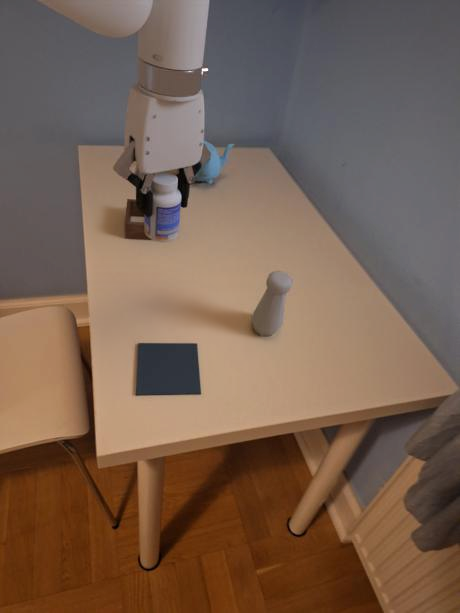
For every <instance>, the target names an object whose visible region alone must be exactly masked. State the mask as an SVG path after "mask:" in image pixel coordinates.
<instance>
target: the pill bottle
mask: <svg viewBox="0 0 460 613" xmlns="http://www.w3.org/2000/svg"><path fill="white" fill-rule="evenodd" d="M176 175H177V174H175V173H173V172H172V171H163V172H158V173H155V175H154V178H153V181H152V184H151V187H150V191H151V192H152V193H153V208H152V215H151V217H147V216H146V215H145V214H144V217H143V218H144V219H143V223H144V231H145V234H146V235H147V236H148V237H149V238H150V239H152V240H151V241H155V242H157V243H168V242H171V241H174V240H175V239H176V238H178V236H179V233H180V221H181V209H182V207H181V193H180V191H179V190H178V189H177V186H178V178H177V176H176Z"/></svg>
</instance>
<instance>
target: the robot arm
mask: <svg viewBox="0 0 460 613" xmlns="http://www.w3.org/2000/svg"><path fill="white" fill-rule="evenodd" d="M36 1H37V2H38V3H40V4H42V5H44V6H45V7H48V8H50V9H51V10H53V11H55V12H57V13H58V14H60V15H62V16H63V17H65V18H67V19H69V20H70V21H73V22H74V23H76V24H78V25H80V26H81V27H82V28H85V29H87V30H89V31H91V32H92V33H95V34H97V35H100V36H103V37H107V38H110V39H111V38H113V39H121V38H126V37H129V36H131V35H133V34H135V33H137V83H134V84H131V85H130V90H129V94H128V99H127V104H126V111H125V120H124V121H125V122H124V136H123V137H124V138H123V151H122V153H121V155H120V157H118V159H117V160H116V161H115V163H114V165H113V166H112V170H113V171H114V172H115V173H116V174H117V175H118V176H120V177H121V178H122V179H124V180H125V181H127V182H128V183H130V184H131V185H132V186H134V187H135V200H136V206H137V208H138V209H139V210H141V211H142V212H143V213H144V214H145V215H146V216H147V217H151V215H152V208H153V193H152V192H151V191H150V187H151V184H152V181H153V178H154V175H155V173H158V172H163V171H168V172H170V171H173V170H176V172H177V174H175V175H176V176H177V178H178V186H177V189H178V190H179V191H180V193H181V208H182V209H185V208H188V203H189V197H190V189H191V184H193V183H192V182H193V181H194V176H195V175H196V174H197V172H198V171H199V170H200V169H201V167H202V164H204V163H205V162H206V161H207V160H208V159H209V158H210V156H211V153H210V151H209V150H208V148H207V147H206V145H205V144H204V140H205V121H206V118H205V116H206V114H205V113H206V112H205V110H206V109H205V98H204V91H203V90H202V88H201V85H202V79H203V78H206V77H208V75H209V68H208V66H207V65H206V64H204V56H205V48H206V39H207V38H206V37H207V29H208V19H209V11H210V10H209V8H210V0H36ZM135 162H136V166H135V170H134V172H133V171H132V170H131V169H130V168H131V167H132V165H133V163H135Z"/></svg>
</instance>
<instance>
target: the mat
mask: <svg viewBox="0 0 460 613" xmlns="http://www.w3.org/2000/svg"><path fill="white" fill-rule="evenodd" d="M137 344H138V345H137V358H136V359H137V361H136V362H137V363H136V380H135V381H136V383H135V396H136V397H137V396H183V395H185V396H186V395H188V396H189V395H202V389H201V388H202V387H201V376H200V375H201V374H200V362H199V353H198V352H199V351H198V342H197V343H195V342H192V343H191V342H138V343H137Z"/></svg>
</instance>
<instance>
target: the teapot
mask: <svg viewBox="0 0 460 613" xmlns="http://www.w3.org/2000/svg"><path fill="white" fill-rule="evenodd" d="M204 144H205V145H206V147H207V148H208V150H209V151H210V153H211V156H210V158H209V159H208V160H207V161H206V162H205V163H204V164H202V167H201V169H200V170H199V171H198V172H197V174H196V175H195V176H194V181H193V182H192V183H191V184H194V183H196V182H205V183H206V184H213V183H214V181H213V180H214V179H216V178H217V177H218V176H219V175H220V174H221V171H222V170H221V169H222V168H223V167H224V166H226V164H227V162H228V159H229V154H230V150H231V149H232V148H233V147H234V146H236V143H229V144H227V145H226V146H225V148H224V151H223V154H222V155H221V156H220V155H219V153H218V151H217V149H216V147H215V146H214V144H212V143H210V142H208V141H207V140H205V139H204Z"/></svg>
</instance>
